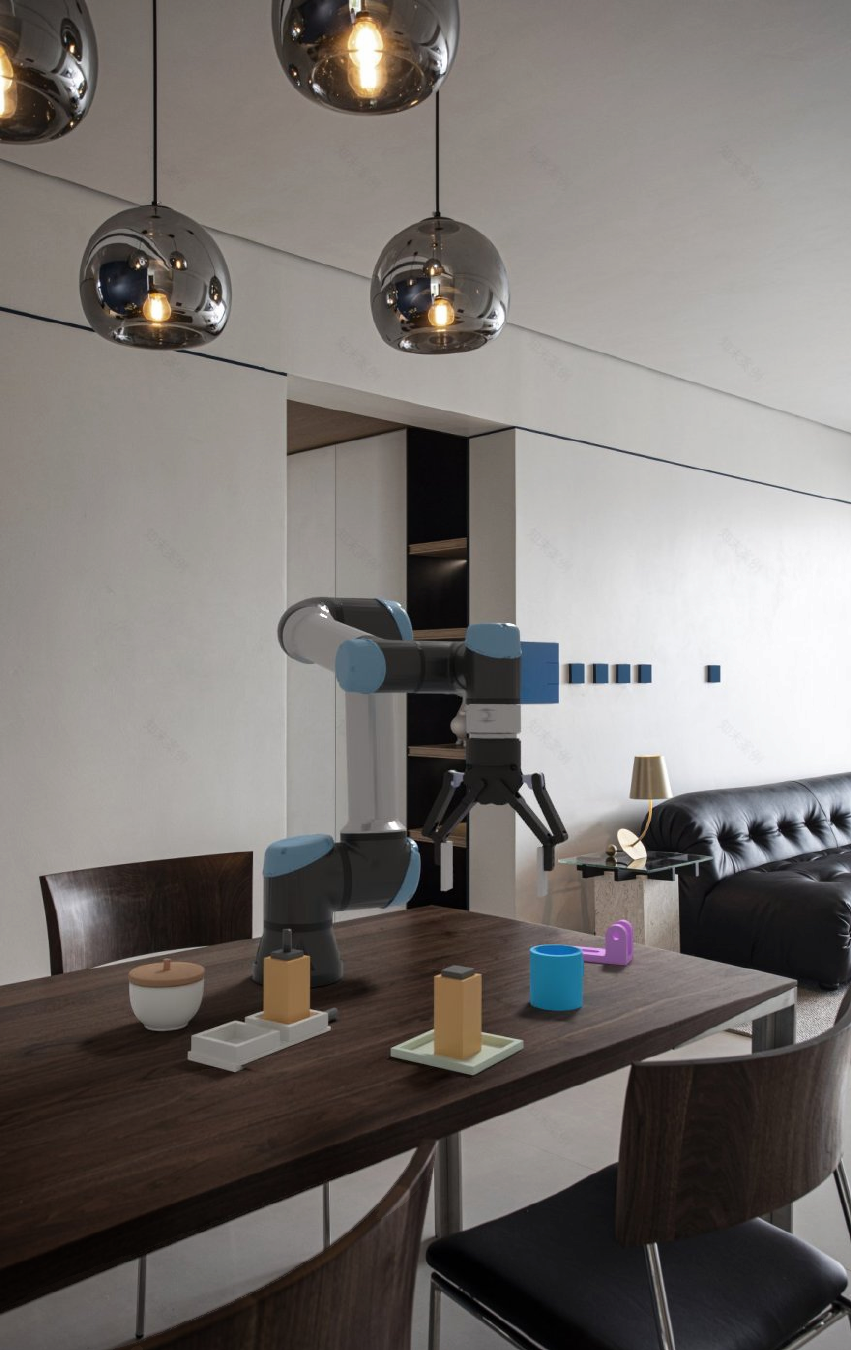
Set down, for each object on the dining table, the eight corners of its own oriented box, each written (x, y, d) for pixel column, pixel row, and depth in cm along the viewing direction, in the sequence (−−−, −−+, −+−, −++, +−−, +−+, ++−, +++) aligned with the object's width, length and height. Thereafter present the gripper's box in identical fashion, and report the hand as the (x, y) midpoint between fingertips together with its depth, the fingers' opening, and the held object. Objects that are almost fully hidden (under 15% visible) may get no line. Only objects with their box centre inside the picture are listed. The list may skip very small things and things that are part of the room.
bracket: (633, 959, 199) (633, 920, 199) (626, 966, 194) (626, 926, 194) (564, 952, 204) (564, 914, 204) (555, 958, 199) (555, 920, 199)
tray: (390, 1060, 143) (390, 1048, 143) (444, 1035, 153) (444, 1024, 153) (473, 1079, 136) (473, 1066, 136) (523, 1052, 146) (523, 1040, 146)
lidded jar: (137, 1040, 151) (138, 971, 151) (120, 1020, 160) (121, 955, 161) (213, 1029, 156) (214, 963, 156) (193, 1010, 165) (193, 947, 165)
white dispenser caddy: (234, 1072, 138) (235, 953, 138) (187, 1059, 143) (188, 945, 143) (357, 1023, 159) (357, 920, 159) (312, 1013, 164) (312, 914, 164)
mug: (565, 1014, 164) (565, 959, 164) (519, 1004, 169) (519, 951, 169) (605, 996, 174) (604, 944, 174) (560, 988, 179) (560, 937, 179)
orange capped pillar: (434, 1053, 144) (434, 970, 144) (452, 1044, 147) (452, 963, 148) (463, 1059, 141) (463, 975, 141) (481, 1050, 145) (481, 968, 145)
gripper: (398, 736, 151) (398, 891, 151) (576, 738, 142) (577, 902, 142) (418, 734, 158) (418, 882, 158) (589, 736, 149) (590, 893, 149)
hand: (493, 892), depth 150 cm, fingers open, 13 cm apart
